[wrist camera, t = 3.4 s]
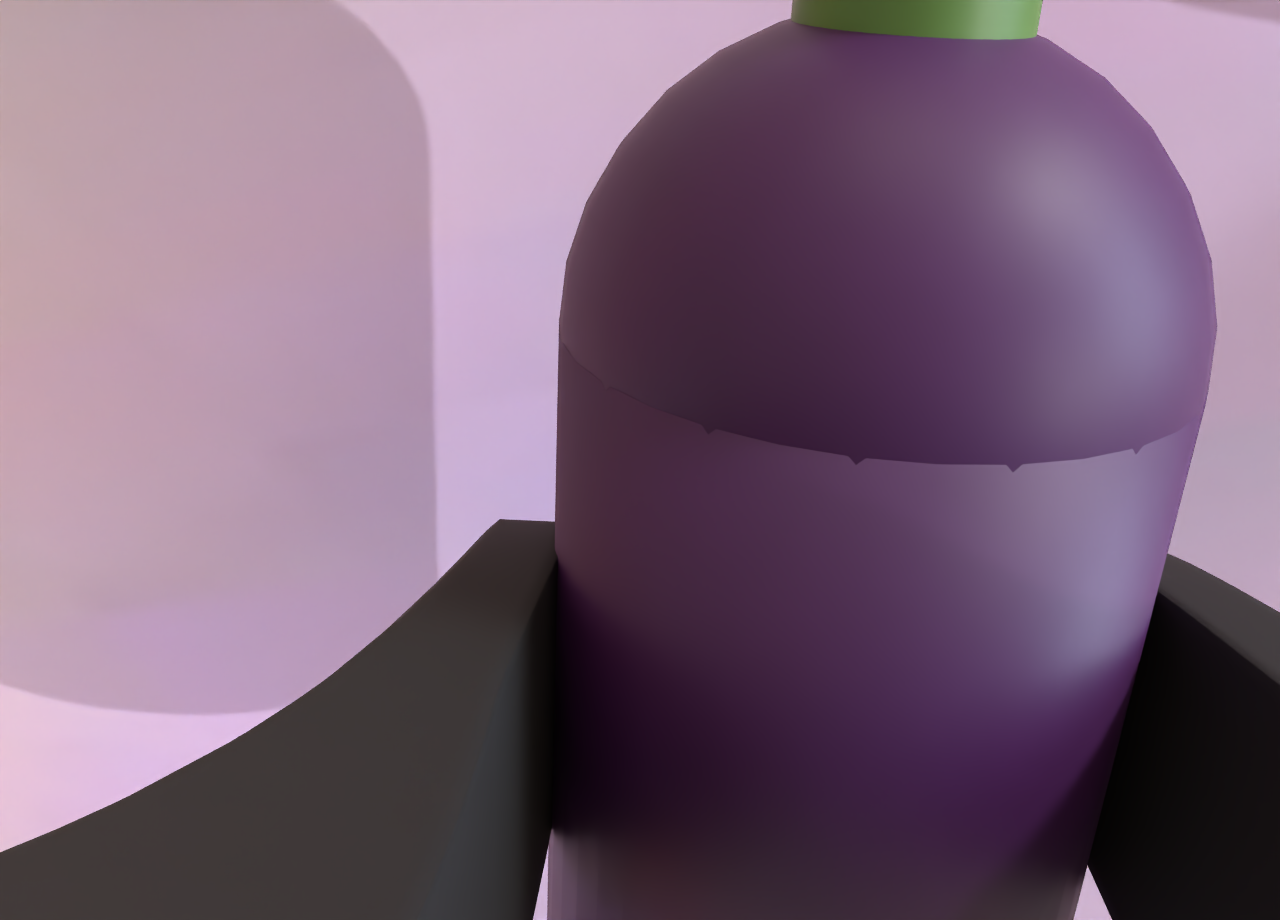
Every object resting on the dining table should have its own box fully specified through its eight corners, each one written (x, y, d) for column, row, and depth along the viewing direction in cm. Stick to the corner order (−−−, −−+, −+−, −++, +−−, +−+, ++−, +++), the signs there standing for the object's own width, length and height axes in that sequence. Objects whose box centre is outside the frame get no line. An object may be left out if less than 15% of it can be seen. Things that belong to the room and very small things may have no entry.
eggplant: (944, 946, 14) (1064, 1369, 10) (560, 929, 14) (520, 1347, 10) (1171, -178, 10) (1575, -253, 5) (589, -208, 10) (537, -306, 5)
